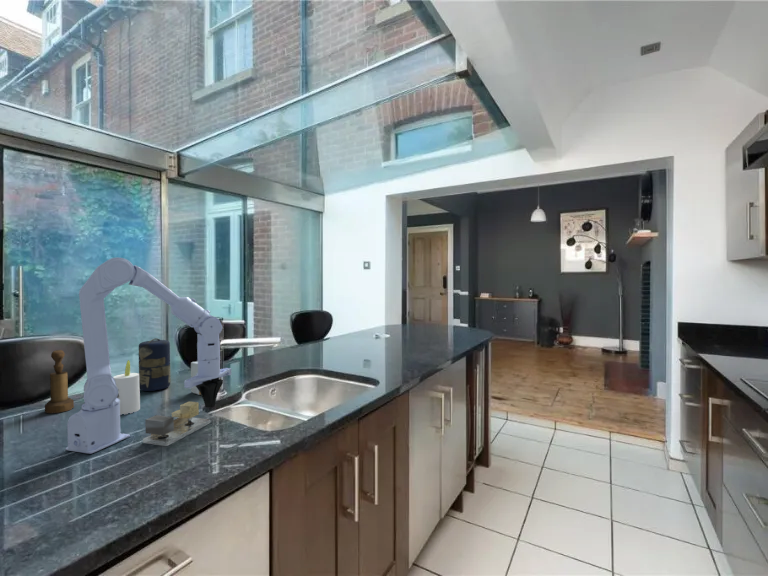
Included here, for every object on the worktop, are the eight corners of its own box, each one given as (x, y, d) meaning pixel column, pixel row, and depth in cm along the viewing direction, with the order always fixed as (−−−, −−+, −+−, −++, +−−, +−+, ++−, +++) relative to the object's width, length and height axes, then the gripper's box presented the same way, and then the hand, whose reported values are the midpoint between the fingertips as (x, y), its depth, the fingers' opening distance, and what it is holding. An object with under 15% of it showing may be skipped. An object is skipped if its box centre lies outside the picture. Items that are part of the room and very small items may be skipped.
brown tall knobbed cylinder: (79, 406, 113) (77, 348, 112) (59, 414, 106) (57, 352, 106) (60, 405, 114) (58, 348, 113) (38, 413, 107) (36, 352, 107)
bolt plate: (167, 446, 85) (166, 441, 85) (143, 442, 87) (142, 438, 87) (210, 423, 98) (210, 419, 98) (188, 420, 100) (188, 416, 100)
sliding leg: (190, 425, 94) (189, 406, 93) (171, 423, 95) (171, 404, 95) (198, 420, 96) (198, 402, 96) (181, 418, 98) (180, 400, 98)
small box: (198, 395, 122) (198, 364, 122) (190, 392, 126) (190, 362, 126) (221, 389, 129) (221, 359, 129) (213, 386, 132) (213, 357, 132)
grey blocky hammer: (163, 440, 86) (163, 421, 86) (145, 438, 87) (144, 419, 87) (202, 420, 98) (202, 403, 98) (186, 418, 99) (186, 402, 99)
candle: (107, 414, 106) (106, 362, 106) (128, 406, 112) (127, 357, 112) (125, 415, 104) (123, 363, 104) (145, 408, 111) (143, 358, 110)
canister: (132, 391, 127) (131, 340, 127) (156, 384, 137) (155, 336, 136) (153, 393, 125) (152, 341, 124) (177, 386, 134) (175, 336, 133)
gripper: (218, 352, 110) (219, 397, 111) (175, 362, 97) (176, 413, 97) (236, 353, 108) (237, 399, 108) (195, 364, 94) (196, 417, 95)
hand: (210, 406), depth 102 cm, fingers closed
